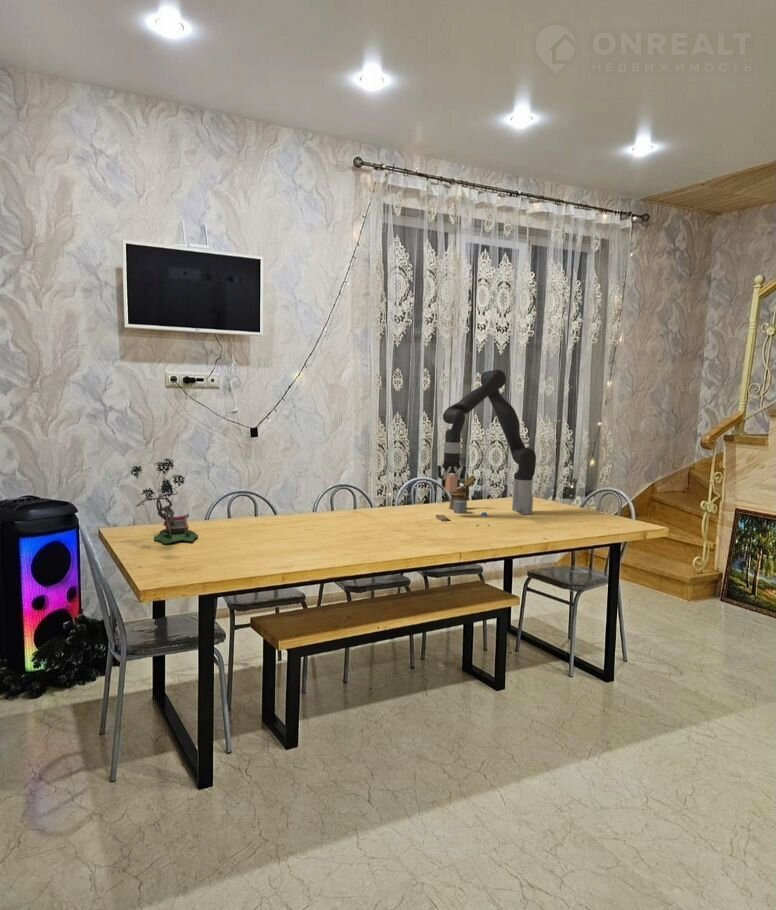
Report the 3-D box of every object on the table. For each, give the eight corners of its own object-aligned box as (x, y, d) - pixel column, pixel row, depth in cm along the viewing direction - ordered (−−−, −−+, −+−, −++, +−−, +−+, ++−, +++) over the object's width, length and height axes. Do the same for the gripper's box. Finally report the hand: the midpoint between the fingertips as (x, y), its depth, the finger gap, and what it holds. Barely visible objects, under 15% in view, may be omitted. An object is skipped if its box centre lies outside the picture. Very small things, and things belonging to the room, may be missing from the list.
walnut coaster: (456, 517, 339) (456, 514, 338) (462, 521, 329) (462, 518, 329) (435, 517, 337) (436, 514, 337) (441, 521, 327) (441, 518, 327)
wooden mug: (477, 512, 354) (479, 476, 352) (454, 513, 348) (456, 477, 346) (467, 508, 362) (469, 474, 360) (444, 510, 355) (446, 474, 353)
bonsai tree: (127, 534, 278) (127, 454, 275) (190, 530, 290) (190, 453, 287) (142, 555, 248) (142, 466, 244) (212, 549, 260) (213, 464, 256)
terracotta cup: (454, 489, 335) (455, 474, 334) (458, 491, 329) (459, 476, 328) (442, 489, 334) (443, 474, 333) (445, 491, 328) (446, 476, 327)
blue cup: (463, 514, 347) (464, 500, 346) (467, 516, 341) (468, 502, 340) (452, 514, 345) (452, 500, 345) (455, 516, 340) (456, 502, 339)
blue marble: (486, 517, 340) (486, 511, 340) (488, 519, 337) (488, 512, 337) (480, 517, 339) (480, 511, 339) (482, 519, 336) (482, 512, 336)
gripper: (464, 451, 334) (462, 486, 336) (435, 450, 332) (433, 486, 333) (469, 452, 327) (467, 488, 329) (439, 452, 324) (437, 488, 326)
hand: (450, 487), depth 331 cm, fingers closed on terracotta cup, 5 cm apart
